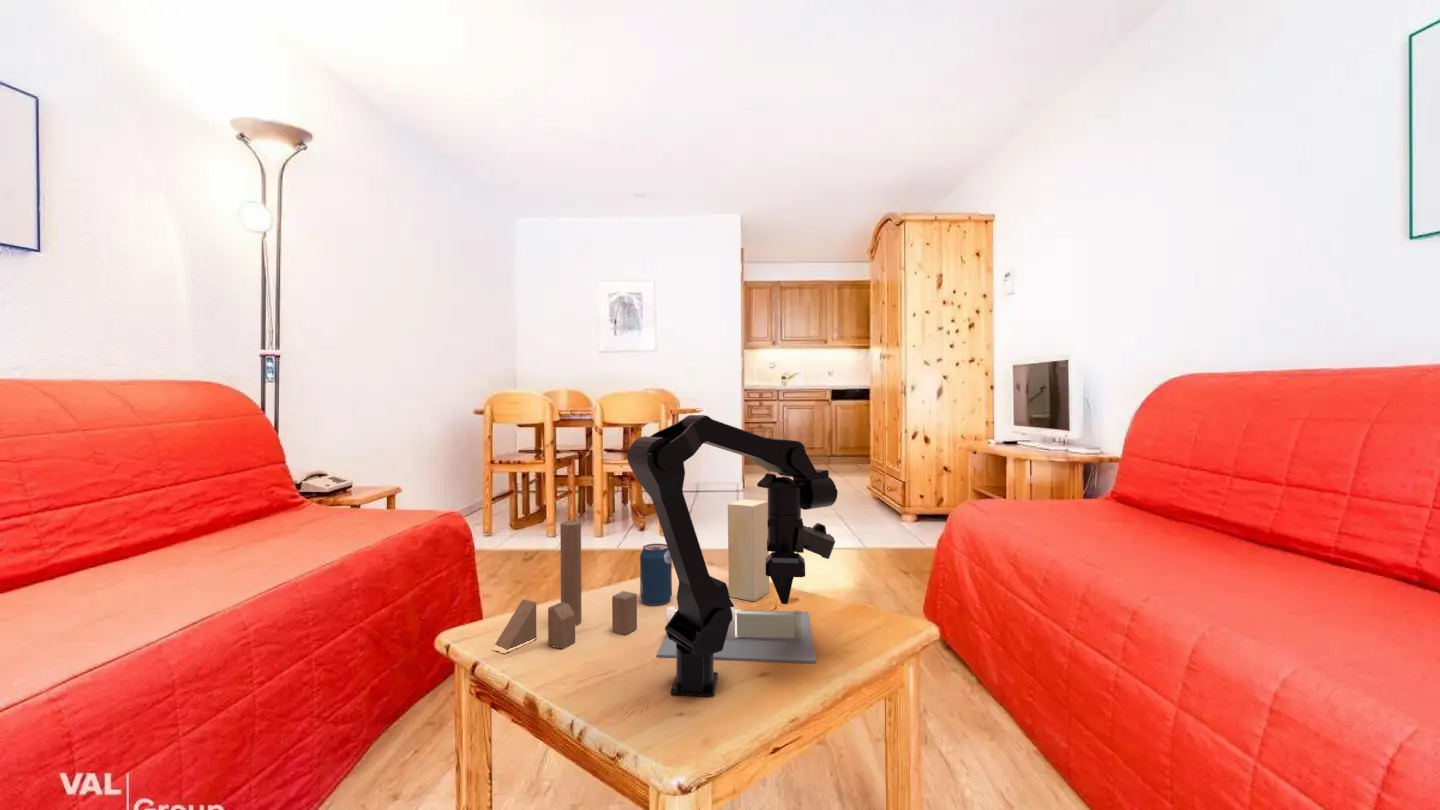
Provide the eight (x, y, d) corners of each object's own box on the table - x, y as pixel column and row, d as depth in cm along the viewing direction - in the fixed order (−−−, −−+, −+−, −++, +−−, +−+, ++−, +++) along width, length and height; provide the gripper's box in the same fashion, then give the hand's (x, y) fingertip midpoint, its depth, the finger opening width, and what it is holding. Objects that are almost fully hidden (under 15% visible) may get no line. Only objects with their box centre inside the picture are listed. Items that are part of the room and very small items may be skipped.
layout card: (816, 663, 91) (815, 624, 91) (656, 657, 93) (656, 619, 94) (808, 613, 113) (807, 582, 113) (679, 609, 115) (678, 579, 115)
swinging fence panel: (802, 638, 98) (802, 613, 98) (736, 636, 99) (736, 611, 99) (802, 634, 100) (801, 610, 100) (737, 632, 101) (737, 608, 101)
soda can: (678, 600, 121) (678, 546, 121) (654, 608, 116) (654, 552, 116) (657, 593, 126) (656, 541, 126) (633, 601, 121) (633, 547, 121)
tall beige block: (742, 586, 130) (741, 498, 130) (769, 591, 126) (769, 500, 127) (725, 596, 123) (724, 503, 124) (754, 602, 120) (753, 506, 120)
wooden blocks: (491, 650, 97) (491, 537, 97) (572, 613, 114) (572, 517, 114) (561, 672, 88) (561, 548, 88) (637, 629, 105) (637, 525, 106)
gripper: (837, 524, 84) (838, 626, 84) (826, 504, 103) (826, 587, 103) (765, 523, 85) (765, 623, 85) (767, 503, 104) (767, 585, 104)
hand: (784, 603), depth 94 cm, fingers closed
